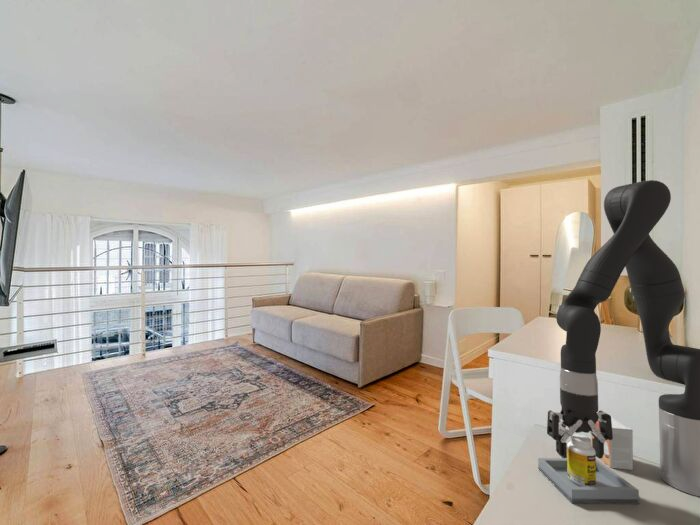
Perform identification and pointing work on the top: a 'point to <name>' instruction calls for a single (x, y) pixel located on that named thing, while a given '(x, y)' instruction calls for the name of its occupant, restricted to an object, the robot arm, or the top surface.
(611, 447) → the small box
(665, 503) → the top surface
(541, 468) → the slate tray
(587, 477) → the supplement bottle
